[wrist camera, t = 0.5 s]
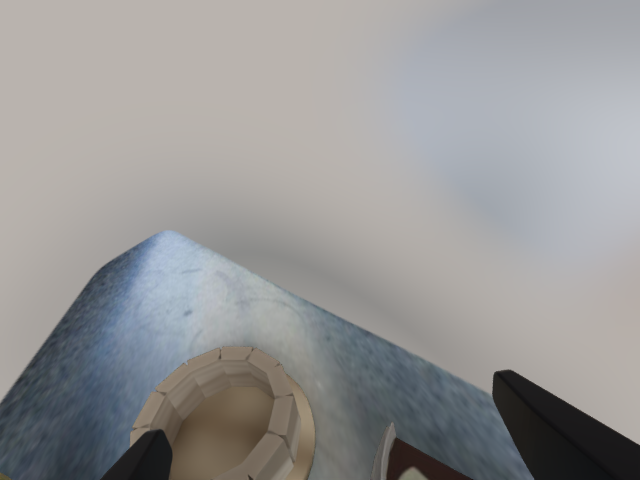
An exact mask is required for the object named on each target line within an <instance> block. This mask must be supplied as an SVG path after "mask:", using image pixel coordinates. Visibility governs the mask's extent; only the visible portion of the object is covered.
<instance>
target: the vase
mask: <svg viewBox="0 0 640 480" xmlns="http://www.w3.org/2000/svg"><path fill="white" fill-rule="evenodd" d="M0 480H12V479H10V478H9V477H7V476H6V475H4V474H2V473H0Z"/></svg>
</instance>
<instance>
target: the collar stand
mask: <svg viewBox="0 0 640 480" xmlns="http://www.w3.org/2000/svg"><path fill="white" fill-rule="evenodd" d="M187 362H188V365H186V364H185V363H183V364H182V365H181V366H180V367H178V368H177V369H176V370H175V371H174V372H173V373H172V374H170V375H169V376H168V377H167V378H166V379H165V380H164V381H162V382H161V383H160V384H159V385H158V386H157V387H156V388H155V389H156V391H157V392H151V394H150V396H149V398H148V399H147V401H146V403H145V405H144V407H143V408H142V410H141V412H140V414H139V416H138V417H137V419H136V421H135V423H134V425H133V426H132V428H133V429H134V430H133V431H131V433H130V447H131V446H132V445H133V444H134V443H135V442H136V441H137V440H138V439H139V438H140V437H141V435H142V434H143V433H145V432H146V431H149V430H155V429H162V430H164V432H165V434H166V437H167V439H168V441H169V443H170V446H171V448H172V452H173V458H172V464H171V469H170V475H169V480H307V479H308V476H309V473H310V470H311V466H312V463H313V458H314V452H315V426H314V421H313V416H312V412H311V408H310V406H309V403H308V400H307V398H306V396H305V394H304V392H303V391H302V389H301V388H300V387H299V385H298V384H297V383H296V382H295V381H294V380H293V379H292V378H291V377H290V376H288V375H287V374H286V373H285V372H284V369H283V367H282V364H281V365H280V362H279V361H277V360H275V359H274V358H272V357H270V356H269V355H267V354H266V353H264V352H262V351H261V350H259V349H257V348H255V349H253V347H222V350H220V348H217V349H214V350H212V351H209V352H207V353H204V354H202V355H200V356H197V357H195V358H192V359H190V360H187Z"/></svg>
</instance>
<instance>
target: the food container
mask: <svg viewBox="0 0 640 480" xmlns="http://www.w3.org/2000/svg"><path fill="white" fill-rule="evenodd" d="M370 480H473V479H471V478H469V477H467V476H465V475H463V474H461V473H459V472H458V471H456V470H454V469H452V468H450V467H449V466H447V465H445V464H443V463H441V462H439V461H438V460H436V459H434V458H432V457H430V456H429V455H427V454H425V453H423V452H421V451H420V450H418V449H416V448H414V447H412V446H411V445H409V444H407V443H405V442H403V441H402V440H400V439H398V438H396V433H395V428H394V423H393V422H391V425H390V428H389V427H387V426H386V429H385V431H384V434H383V436H382V439H381V441H380V444H379V447H378V450H377V453H376V455H375V459H374V464H373V469H372V473H371V478H370Z"/></svg>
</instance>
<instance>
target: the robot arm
mask: <svg viewBox="0 0 640 480" xmlns="http://www.w3.org/2000/svg"><path fill="white" fill-rule="evenodd" d="M492 396H493V400H494V403H495V405H496V407H497V409H498V411H499V413H500V415H501V417H502V419H503V421H504V423H505V425H506V427H507V429H508V431H509V433H510V435H511V437H512V439H513V441H514V443H515V445H516V447H517V449H518V451H519V453H520V455H521V457H522V459H523V461H524V463H525V464H526V466H527V468H528V469H529V471H530V473H531V474H532V476H533V478H534V479H535V480H640V445H639V444H637V443H635V442H633V441H632V440H630V439H628V438H626V437H625V436H623V435H622V434H620V433H618V432H617V431H615V430H613V429H611V428H610V427H608V426H606V425H605V424H603V423H601V422H599V421H598V420H596V419H594V418H593V417H591V416H589V415H587V414H586V413H584V412H582V411H581V410H579V409H577V408H575V407H574V406H572V405H570V404H569V403H567V402H565V401H564V400H562V399H560V398H558V397H557V396H555V395H553V394H552V393H550V392H548V391H546V390H545V389H543V388H541V387H540V386H538V385H536V384H534V383H533V382H531V381H529V380H528V379H526V378H524V377H523V376H521V375H519V374H517V373H516V372H514V371H512V370H502V371H496V372H495V373H494V376H493V391H492ZM172 458H173V452H172V448H171V446H170V443H169V441H168V439H167V437H166V434H165V432H164V430H162V429H155V430H149V431H146V432H145V433H143V434H142V435H141V437H140V438H139V439H138V440H137V441H136V442H135V443H134V444H133V445H132V446H131V447H130V448H129V449H128V450H127V451H126V452H125V453H124V454H123V456H122V457H121V458H120V459H119V460H118V461H117V462H116V463H115V464H114V465H113V466H112V467H111V468H110V469H109V470H108V471H107V472H106V473H105V475H104V476H103V477H102V478H101V479H100V480H169V475H170V469H171V464H172Z"/></svg>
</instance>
